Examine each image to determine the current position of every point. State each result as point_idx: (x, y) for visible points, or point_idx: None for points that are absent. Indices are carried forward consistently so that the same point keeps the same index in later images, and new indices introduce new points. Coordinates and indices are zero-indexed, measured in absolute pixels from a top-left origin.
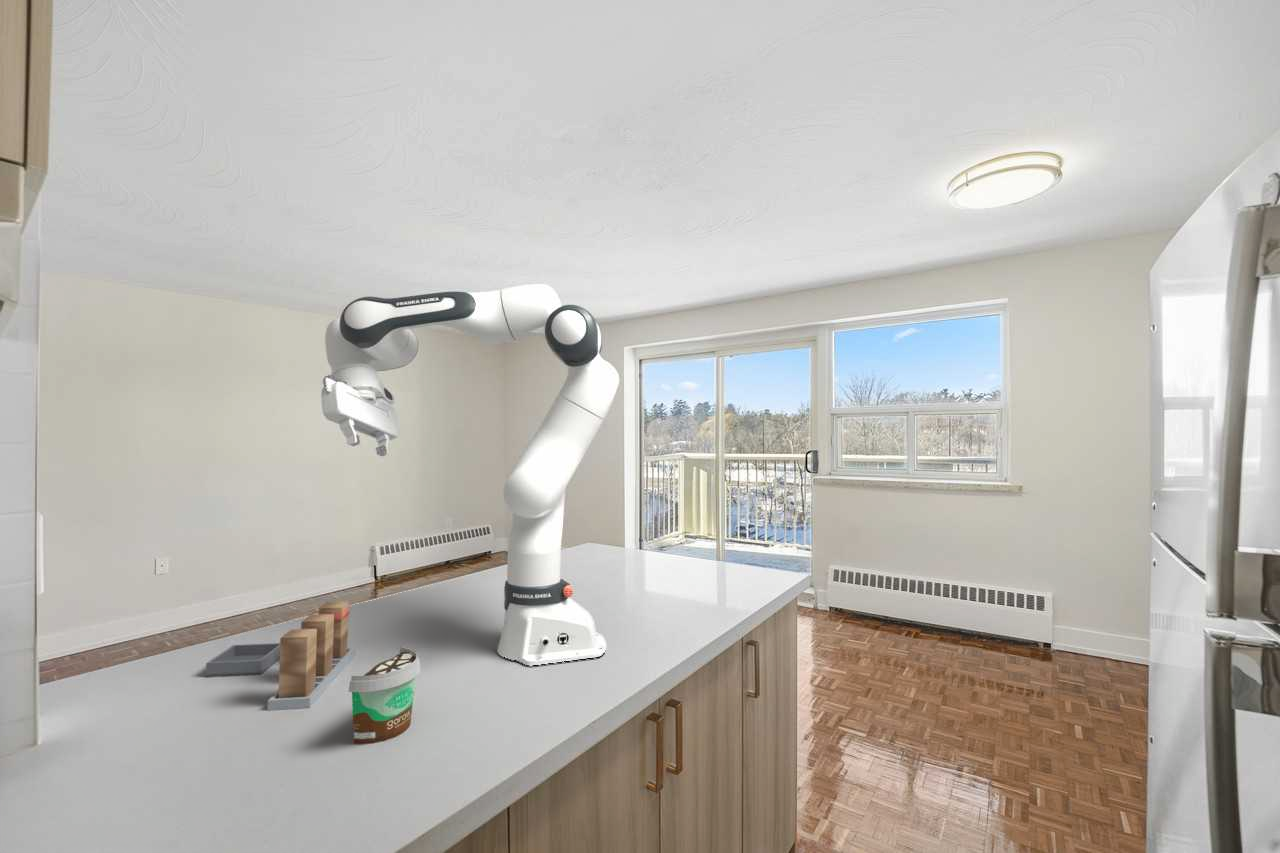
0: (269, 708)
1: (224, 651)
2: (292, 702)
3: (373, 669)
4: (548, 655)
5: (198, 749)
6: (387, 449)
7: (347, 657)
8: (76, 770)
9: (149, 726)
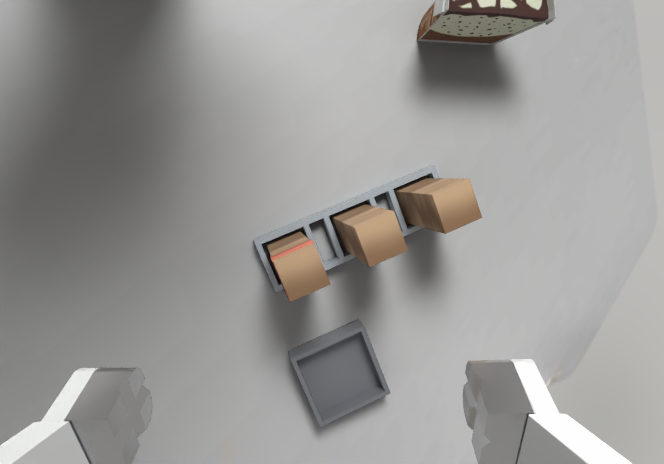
0: None
1: (346, 413)
2: None
3: (514, 11)
4: None
5: (532, 211)
6: (65, 393)
7: (290, 225)
8: (580, 288)
9: (503, 312)
